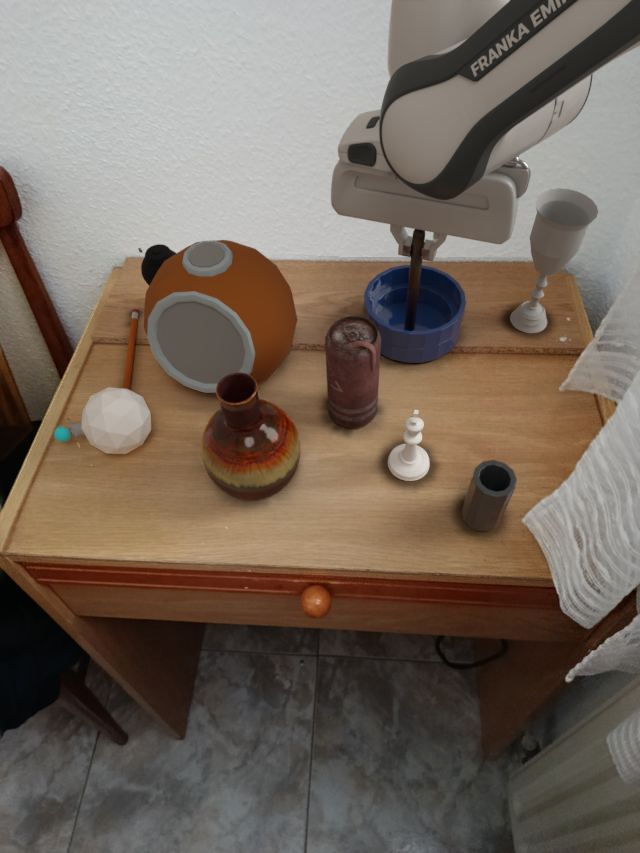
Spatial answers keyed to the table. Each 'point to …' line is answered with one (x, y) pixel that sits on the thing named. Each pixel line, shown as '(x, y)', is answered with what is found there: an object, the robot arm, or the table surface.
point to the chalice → (553, 246)
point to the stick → (414, 279)
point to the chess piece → (410, 453)
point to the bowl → (434, 313)
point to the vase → (249, 441)
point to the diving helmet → (219, 314)
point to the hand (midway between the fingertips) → (416, 255)
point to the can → (352, 370)
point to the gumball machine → (154, 260)
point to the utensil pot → (488, 495)
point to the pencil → (130, 349)
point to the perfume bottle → (111, 422)
